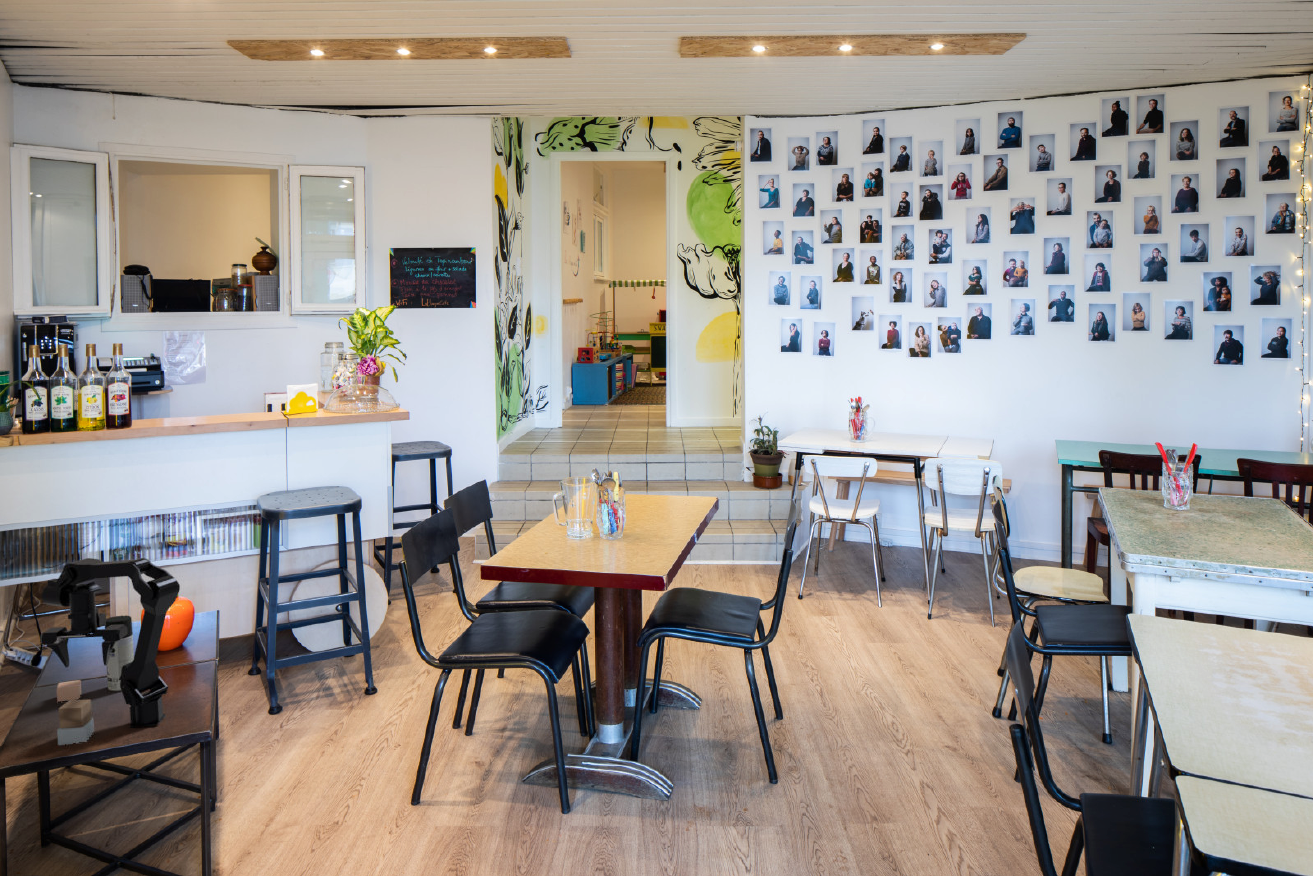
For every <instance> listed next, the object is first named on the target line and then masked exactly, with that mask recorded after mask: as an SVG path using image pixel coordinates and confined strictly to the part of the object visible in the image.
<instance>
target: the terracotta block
mask: <svg viewBox="0 0 1313 876" xmlns="http://www.w3.org/2000/svg"><path fill="white" fill-rule="evenodd" d="M80 695H81V696H82V682H81V679H79V680H71V681H64V682H58V684H57V686H56V700H57V703H58V701H65V700H75V699H79V698H81V696H80ZM79 700H80V699H79Z"/></svg>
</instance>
